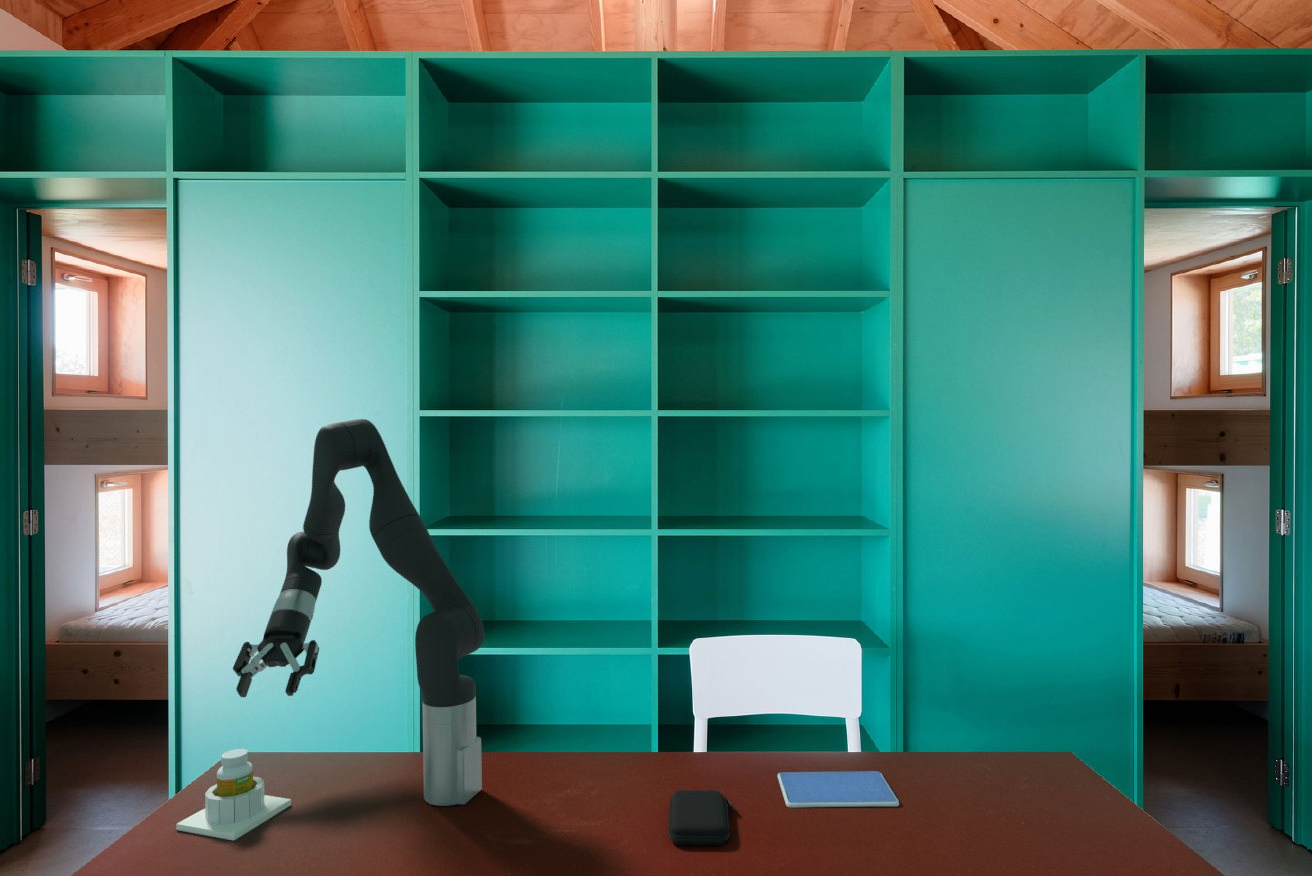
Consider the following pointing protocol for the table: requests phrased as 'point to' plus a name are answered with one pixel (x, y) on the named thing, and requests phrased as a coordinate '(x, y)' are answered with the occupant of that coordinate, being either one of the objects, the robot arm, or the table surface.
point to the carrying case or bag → (699, 817)
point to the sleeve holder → (233, 812)
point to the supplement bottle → (234, 774)
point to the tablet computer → (836, 789)
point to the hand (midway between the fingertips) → (265, 694)
